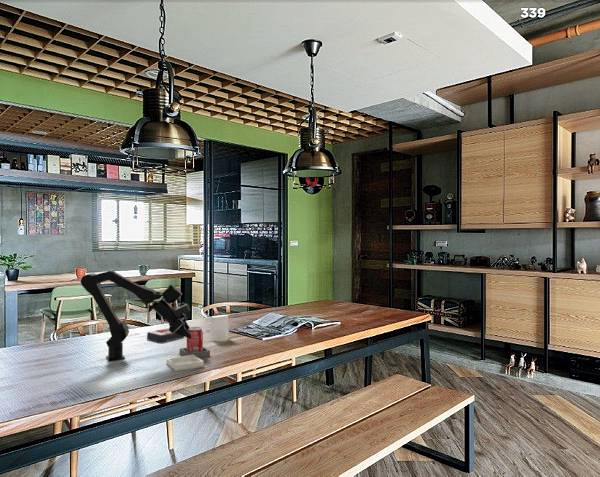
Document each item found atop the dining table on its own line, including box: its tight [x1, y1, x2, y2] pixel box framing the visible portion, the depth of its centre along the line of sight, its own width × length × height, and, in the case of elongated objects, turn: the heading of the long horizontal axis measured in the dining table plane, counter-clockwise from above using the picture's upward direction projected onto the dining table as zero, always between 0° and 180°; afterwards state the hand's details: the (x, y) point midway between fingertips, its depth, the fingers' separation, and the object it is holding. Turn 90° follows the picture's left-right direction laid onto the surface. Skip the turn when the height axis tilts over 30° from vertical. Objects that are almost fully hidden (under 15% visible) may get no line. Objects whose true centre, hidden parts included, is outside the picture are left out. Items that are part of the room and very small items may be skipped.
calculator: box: [146, 328, 185, 344], centre depth 225 cm, size 11×4×15 cm
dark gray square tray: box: [179, 346, 211, 359], centre depth 195 cm, size 10×10×2 cm
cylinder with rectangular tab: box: [210, 314, 229, 342], centre depth 224 cm, size 9×9×12 cm
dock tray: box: [165, 355, 205, 372], centre depth 180 cm, size 12×12×2 cm
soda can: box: [186, 326, 204, 353], centre depth 195 cm, size 7×7×12 cm
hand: (191, 335), depth 195 cm, fingers open, 9 cm apart
